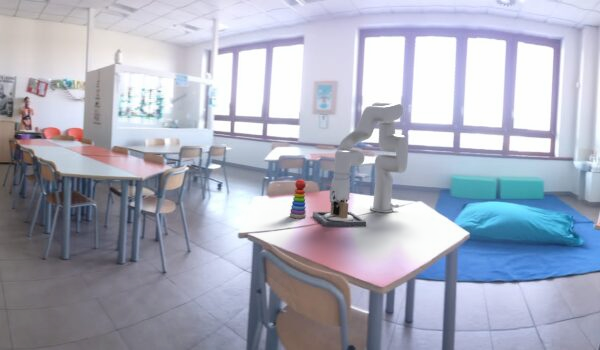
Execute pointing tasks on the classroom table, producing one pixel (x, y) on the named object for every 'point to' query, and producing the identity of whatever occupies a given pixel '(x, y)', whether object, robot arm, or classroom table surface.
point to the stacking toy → (299, 200)
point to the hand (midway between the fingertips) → (338, 213)
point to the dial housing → (328, 223)
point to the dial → (342, 213)
